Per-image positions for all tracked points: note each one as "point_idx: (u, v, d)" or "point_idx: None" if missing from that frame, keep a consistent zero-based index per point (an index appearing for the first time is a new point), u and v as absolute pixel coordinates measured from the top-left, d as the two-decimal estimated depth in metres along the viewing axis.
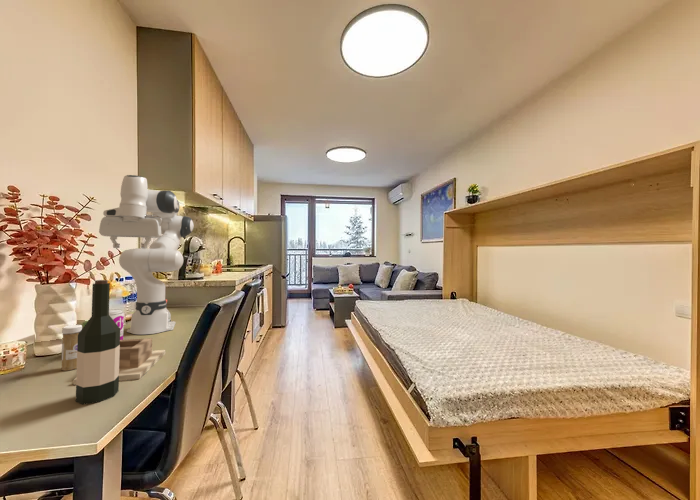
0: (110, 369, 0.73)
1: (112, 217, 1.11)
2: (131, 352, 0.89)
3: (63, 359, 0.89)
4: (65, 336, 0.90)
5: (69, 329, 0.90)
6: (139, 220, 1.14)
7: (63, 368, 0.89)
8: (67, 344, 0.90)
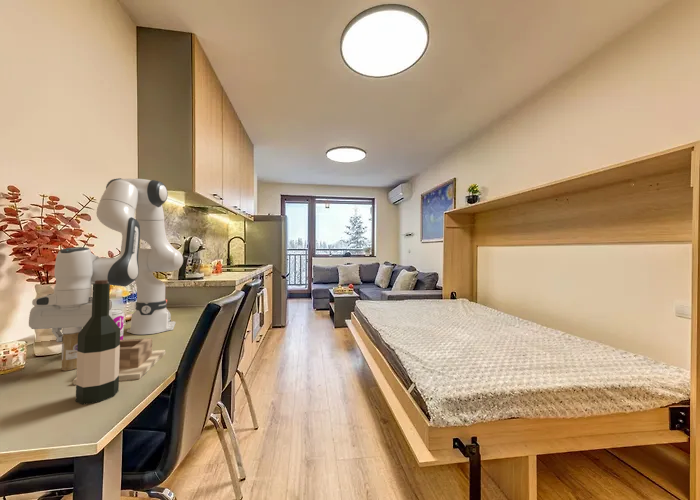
0: (110, 369, 0.73)
1: (44, 307, 0.88)
2: (131, 352, 0.89)
3: (63, 359, 0.89)
4: (65, 336, 0.90)
5: (69, 329, 0.90)
6: (81, 307, 0.91)
7: (63, 368, 0.89)
8: (67, 344, 0.90)
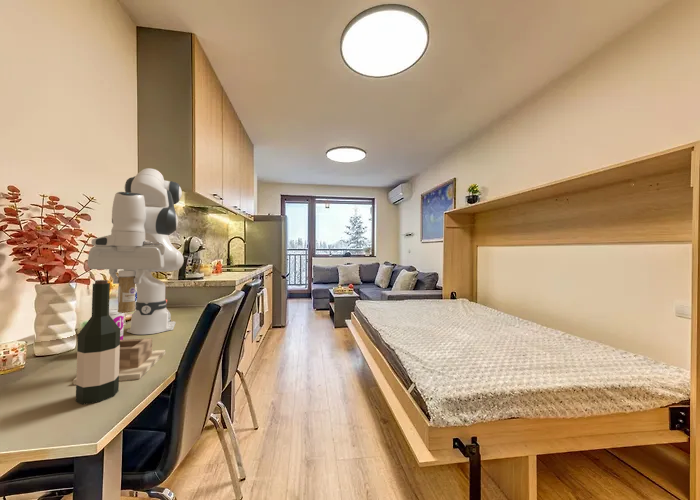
0: (110, 369, 0.73)
1: (103, 247, 0.89)
2: (131, 352, 0.89)
3: (120, 301, 0.91)
4: (121, 279, 0.91)
5: (125, 272, 0.91)
6: (136, 249, 0.93)
7: (120, 310, 0.91)
8: (124, 287, 0.91)
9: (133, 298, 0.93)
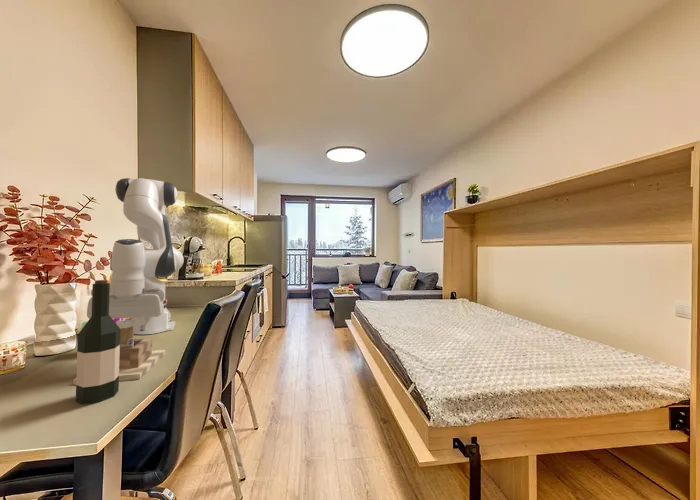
0: (110, 369, 0.73)
1: None
2: (131, 352, 0.89)
3: None
4: None
5: (123, 324, 0.91)
6: (136, 298, 0.93)
7: None
8: (122, 339, 0.91)
9: None
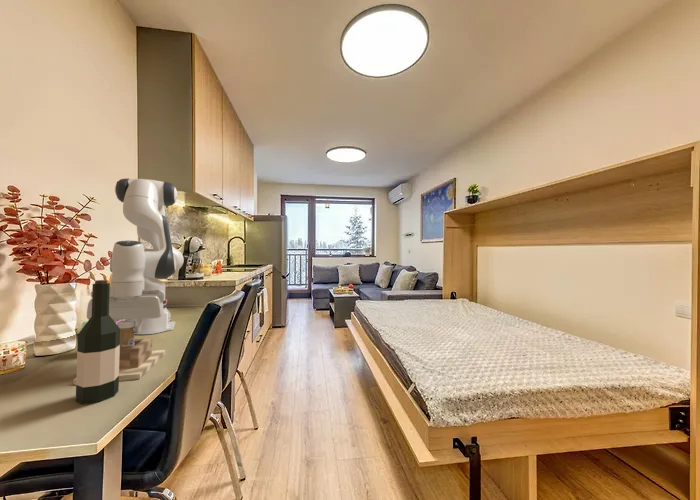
0: (110, 369, 0.73)
1: None
2: (131, 352, 0.89)
3: None
4: (121, 331, 0.91)
5: (125, 324, 0.91)
6: (136, 299, 0.92)
7: None
8: (123, 339, 0.91)
9: None
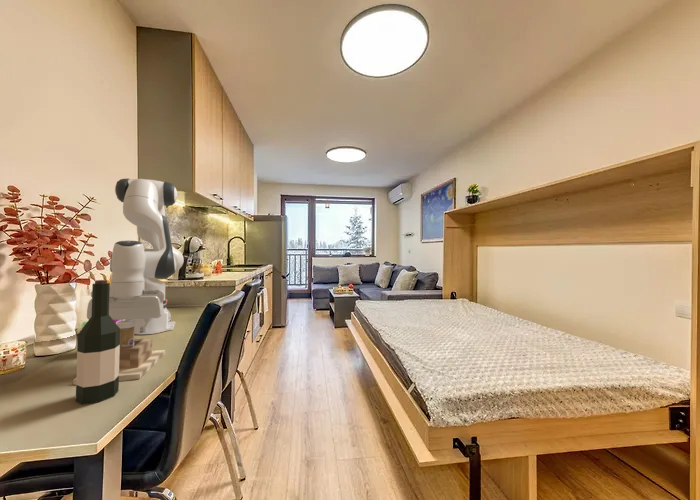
0: (110, 369, 0.73)
1: None
2: (131, 352, 0.89)
3: None
4: (120, 331, 0.91)
5: (124, 324, 0.91)
6: (136, 299, 0.92)
7: None
8: (123, 339, 0.91)
9: None
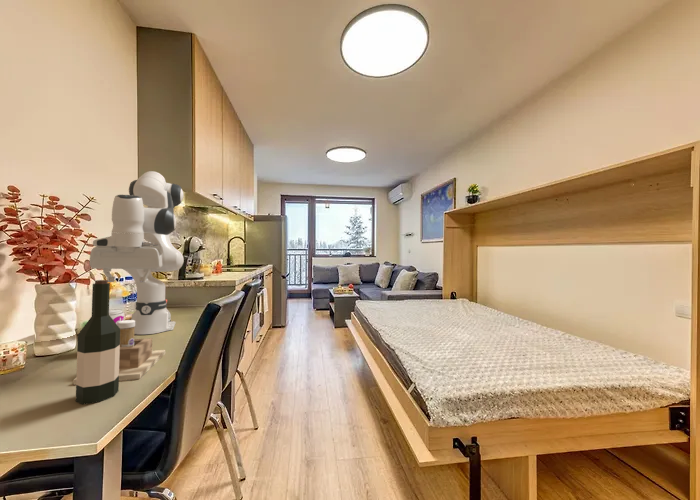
0: (110, 369, 0.73)
1: (104, 248, 0.94)
2: (131, 352, 0.89)
3: None
4: (120, 331, 0.91)
5: (124, 324, 0.91)
6: (136, 250, 0.98)
7: None
8: (123, 339, 0.91)
9: None
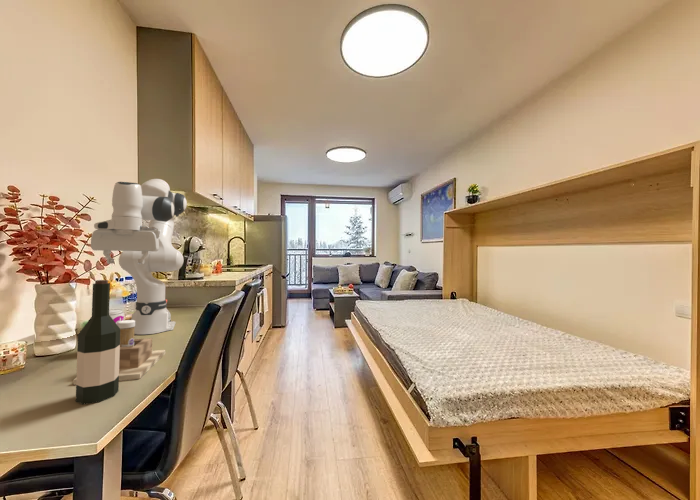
0: (110, 369, 0.73)
1: (104, 230, 1.00)
2: (131, 352, 0.89)
3: None
4: (120, 331, 0.91)
5: (124, 324, 0.91)
6: (134, 233, 1.04)
7: None
8: (123, 339, 0.91)
9: None
